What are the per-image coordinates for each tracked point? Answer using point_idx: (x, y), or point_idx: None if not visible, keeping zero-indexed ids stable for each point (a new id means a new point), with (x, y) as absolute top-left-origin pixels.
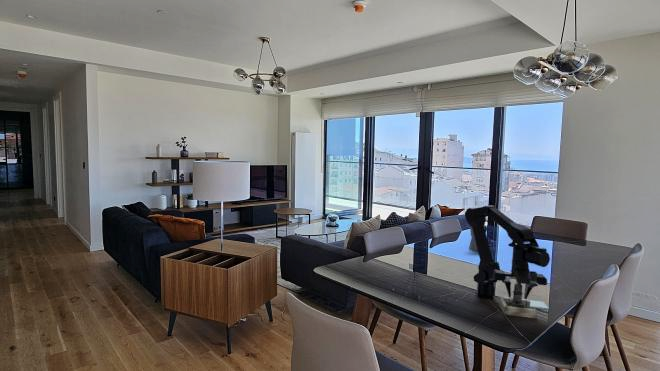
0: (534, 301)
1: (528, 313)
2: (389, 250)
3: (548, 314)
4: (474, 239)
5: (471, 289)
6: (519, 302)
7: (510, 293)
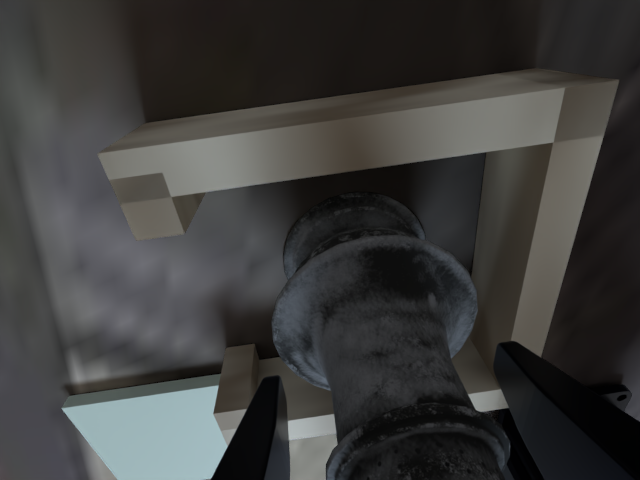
0: (190, 471)
1: (238, 120)
2: None
3: (45, 300)
4: None
5: None
6: (362, 287)
7: (559, 400)
